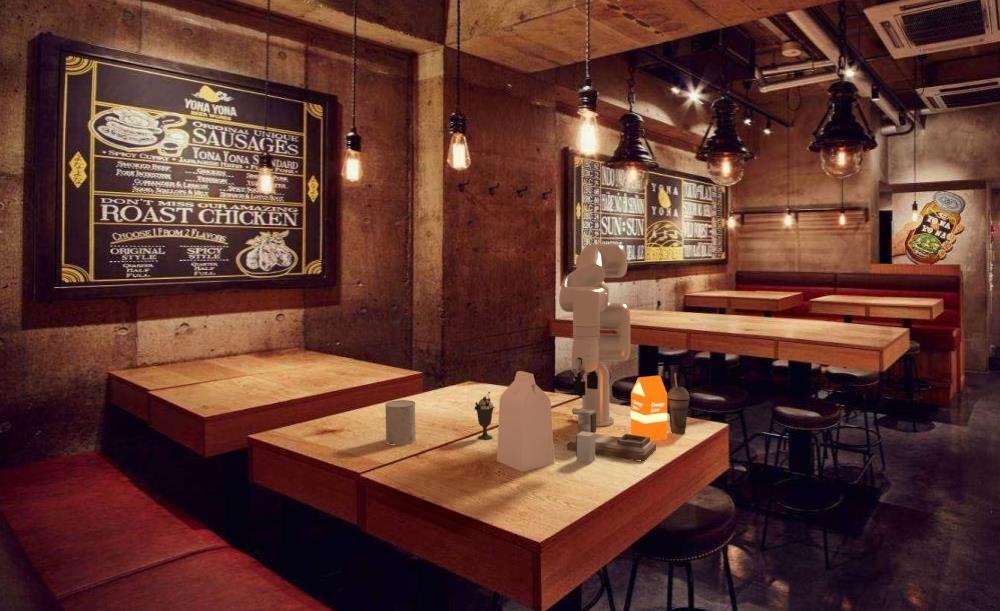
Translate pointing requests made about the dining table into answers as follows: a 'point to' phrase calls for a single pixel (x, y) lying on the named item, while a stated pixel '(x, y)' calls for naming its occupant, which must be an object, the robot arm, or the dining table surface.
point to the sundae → (484, 416)
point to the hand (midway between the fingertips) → (586, 391)
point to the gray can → (400, 422)
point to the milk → (525, 425)
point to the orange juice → (649, 408)
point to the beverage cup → (678, 408)
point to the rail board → (613, 440)
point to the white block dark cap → (585, 447)
